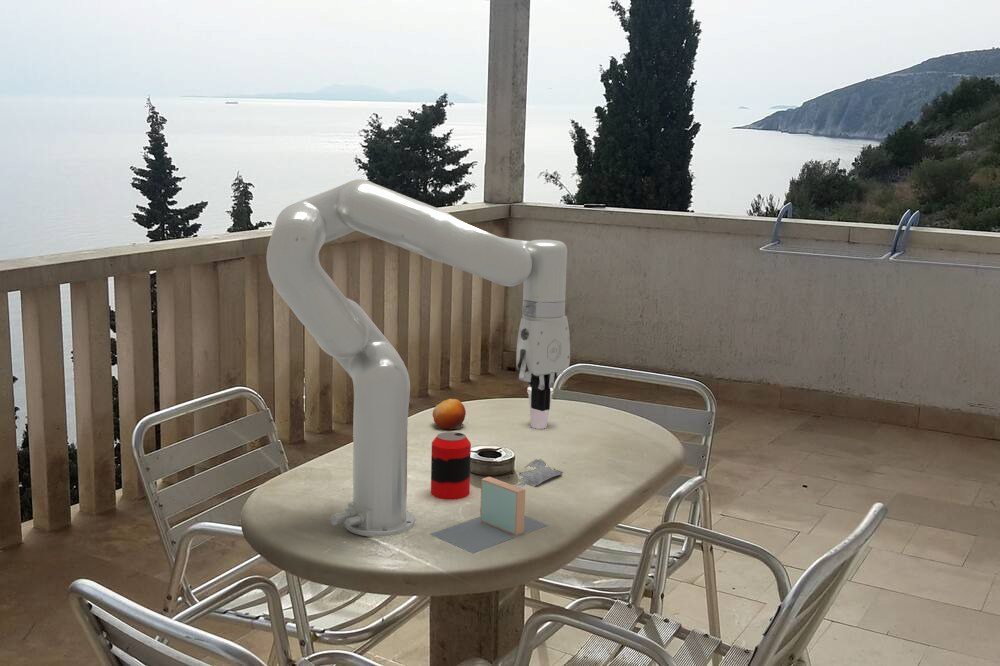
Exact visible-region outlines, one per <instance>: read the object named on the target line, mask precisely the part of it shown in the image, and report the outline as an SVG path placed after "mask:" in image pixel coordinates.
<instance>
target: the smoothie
mask: <svg viewBox="0 0 1000 666" xmlns="http://www.w3.org/2000/svg"><path fill="white" fill-rule="evenodd" d="M526 390H527V391H526V392H527V393H528V403H529V415H530V417H529V418H530V427H531V428H532V429H535V428H536V429H535V430H545V429H546V428H547V425H548V422H549V421H548V420H549V415H550V409H549V410H545V411H540V410H536V409H533V408H531V390H532V388H531V387H529V386H528V387H527V389H526ZM553 394H554V388H553V387H552V388H550V404H551V403H552V396H553ZM544 428H545V429H544Z"/></svg>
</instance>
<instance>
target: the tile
mask: <svg viewBox="0 0 1000 666" xmlns="http://www.w3.org/2000/svg"><path fill="white" fill-rule="evenodd" d="M480 481H481V483H480V484H481V486H480V514H479V515H480V516H479V517H480V521H481V522H484V523H486V524H489V525H491V526H494V527H496V528H499V529H501V530H504V531H506V532H509V533H511V534H514V535H519V534H521V533H524V516H526V515H525V512H526V511H525V510H526V508H525V507H526V489H525V488H523V487H517V486H516V485H515V484H511V483H509V482H505V481H502V480H500V479H497V478H494V477H492V476H486V477H484V478H481V480H480Z"/></svg>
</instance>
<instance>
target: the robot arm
mask: <svg viewBox="0 0 1000 666" xmlns="http://www.w3.org/2000/svg"><path fill="white" fill-rule="evenodd" d="M356 231H357V232H361V234H365V235H368V236H370V237H373V238H375V239H379V240H382V241H384V242H386V243H389V244H392V245H394V246H396V247H399V248H402V249H405V250H407V251H410V252H412V253H414V254H417V255H420V256H421V257H422V256H423V257H424V258H427V259H430V260H432V261H435V262H439V263H442V264H446V265H449V266H451V267H453V268H454V267H455V269H459V270H462V271H463V272H466V273H469V274H472V275H474V276H477V277H479V278H482V279H485V280H487V281H489V282H490V281H491V282H492V283H495V284H498V285H500V286H503V287H515V286H519V285H522V283H523V290H522V291H523V293H522V294H523V295H522V307H521V312H522V317H521V318H520V323H519V328H518V334H517V340H516V352H515V353H516V355H515V356H516V357H515V358H516V359H515V360H516V361H515V362H516V363H515V364H516V370H517V371H518V372H519V374H518V380H519V381H521V382H527V383H528V387H531V388H532V390H531V408H533V409H536V410H540V411H545V410H549V411H550V409H551V403H550V388H553V387H554V381H555V379H556V378H557V377H558V376H560V375H562V374H563V373H564V371H565V370H567V369H568V368H569V367H570V363H571V340H570V339H571V338H570V337H571V336H570V335H571V334H570V328H569V326H570V325H569V321H568V316H566V313H565V311H566V294H567V293H566V290H567V288H566V287H567V284H566V283H567V264H568V263H567V262H568V261H567V260H568V248H567V245H566V244H565V243H564V242H563V241H561V240H556V239H555V240H554V239H532V240H522V239H515V238H509V237H500V236H497V235H495V234H493V233H490V232H489V231H487V230H486V231H485V230H483V229H480V228H478V227H475V226H473V225H471V224H468V223H467V222H466V221H462V220H460V219H458V218H457V217H455V216H453V215H452V214H450V213H449V212H446V211H444V210H443V209H441V208H438V207H436V206H433V205H430V204H428V203H426V202H422V201H419V200H418V199H415V198H412V197H409V196H407V195H404V194H402V193H399V192H397V191H394V190H392V189H389V188H387V187H385V186H382V185H379V184H376V183H374V182H372V181H370V180H367V179H362V178H361V179H353V180H351V181H348V182H345V183H343V184H340V185H338V186H336V187H334V188H332V189H328V190H326V191H324V192H320V193H318V194H315V195H313V196H310V197H307V198H305V199H302V200H300V201H297V202H295V203H291V204H290V205H287V206H286V207H285V208H283V209H282V210H281V211H280V213H279V214H278V215H277V217H276V221H275V224H274V227H273V230H272V233H271V235H270V237H269V241H268V244H267V250H266V267H267V273H268V277H269V279H270V281H271V283H272V285H273V287H274V288H275V290H276V292H277V293H278V294H279V296H280V297H281V298H282V299H283V301H284V302H285V303H286V305H287V306H288V307H289V308H290V309H291V311H292V312H293V314H294V315H295V316H296V318H297V319H298V320H299V321H300V323H301V324H302V325H303V326H304V327H305V329H306V330H307V331H308V333H309V334H310V335H311V336H312V337H313V339H314V340H315V342H316V344H317V345H318V346H319V348H320V349H321V350H322V351H323V352H324V353H326V354H327V355H329V356H330V357H333V358H334V359H335V360H336V361H337V362H338V364H339V365H340V366H341V367H342V368H343V370H344V371H345V372H346V373H347V375H349V377H350V378H351V379H352V384H353V385H352V386H353V418H352V420H353V421H352V422H353V424H352V425H353V426H352V428H353V430H352V442H353V443H352V445H353V446H352V449H353V453H352V454H353V455H352V457H353V461H352V462H353V464H352V465H353V467H352V469H353V470H352V474H353V475H352V477H353V478H352V486H353V487H352V491H353V492H352V501H349V502H348V504H347V507H348V508H346V509H345V510H344V511H340V512H337V513H333V514H331V515H330V519H329V520H330V523H331V524H332V525H333V526H337V525H340V524H343V526H344V528H346V530H347V531H349V532H350V533H352V534H355V535H357V536H358V535H359V536H361V537H362V536H363V537H371V538H374V537H384V536H385V537H386V536H392V535H393V536H394V535H399V534H402V533H405V532H407V531H409V530H411V529H412V528H413V527H414V526H415V524H416V518H415V515H414V514H413V513H412V512H410V511H409V510H407V509H408V508H407V504H408V503H407V496H408V494H407V491H408V428H409V427H408V426H409V425H408V421H409V419H408V418H409V407H410V405H409V404H410V398H411V397H410V396H411V395H410V393H411V381H410V376H409V372H408V369H407V366H406V365H405V362H404V361H403V359H402V357H401V355H400V354H399V353H398V351H397V350H396V349H395V347H394V346H393V345H392V344H391V343H390V341H389V340H388V338H386V337H385V335H384V334H383V333H382V331H381V330H380V329H379V328H378V327H377V325H376V324H375V323H374V322H373V320H372V319H371V318H370V316H369V315H368V314H367V313H366V312H365V311H364V309H363V308H362V307H361V306H360V305H359V304H358V303H357V302H356V301H354V300H352V299H351V298H348V297H346V296H345V295H344V294H343V292H342V291H341V290H340V289H339V287H338V286H337V285H336V284H335V282H334V281H333V279H332V277H330V276H329V275H328V273H327V272H326V271H325V270H324V268H323V267H322V264H321V262H320V258H319V257H320V256H319V254H320V250H321V248H322V247H323V245H324V244H326V243H329V242H331V241H334V240H336V239H339V238H342V237H344V236H346V235H348V234H351V233H353V232H356Z"/></svg>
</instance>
